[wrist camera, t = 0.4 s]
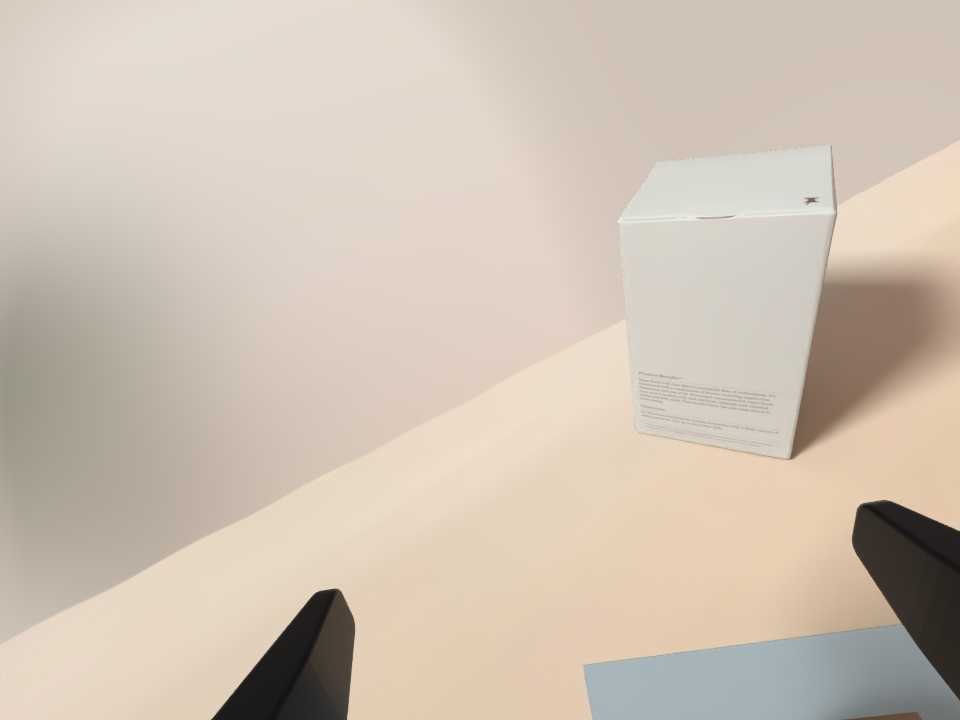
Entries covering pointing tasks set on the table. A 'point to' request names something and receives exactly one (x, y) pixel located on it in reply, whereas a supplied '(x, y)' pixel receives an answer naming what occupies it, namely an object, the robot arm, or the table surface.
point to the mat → (777, 681)
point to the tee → (893, 717)
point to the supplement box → (726, 294)
